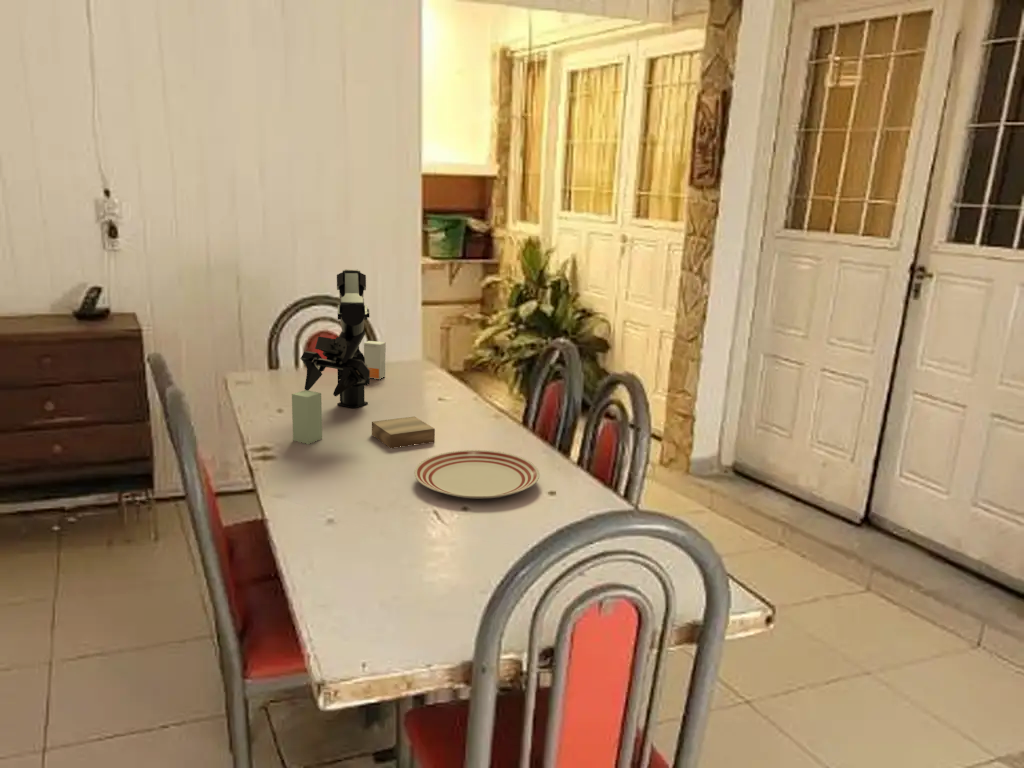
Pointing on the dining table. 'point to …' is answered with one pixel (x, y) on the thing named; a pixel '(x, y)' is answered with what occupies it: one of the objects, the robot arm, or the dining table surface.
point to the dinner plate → (477, 473)
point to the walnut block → (403, 431)
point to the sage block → (307, 416)
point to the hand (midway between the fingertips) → (320, 392)
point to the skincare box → (375, 358)
